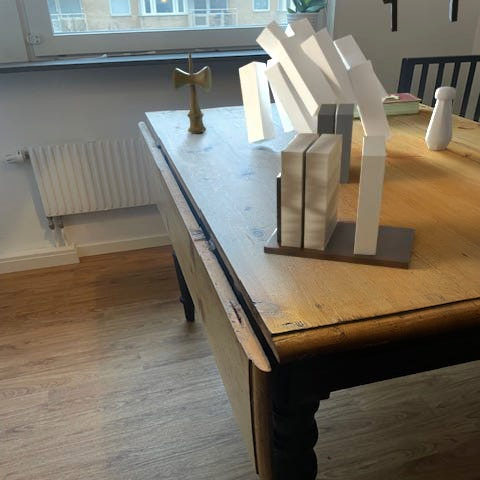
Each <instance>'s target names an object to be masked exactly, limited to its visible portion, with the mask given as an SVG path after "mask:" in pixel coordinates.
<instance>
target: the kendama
mask: <svg viewBox="0 0 480 480" xmlns="http://www.w3.org/2000/svg"><path fill="white" fill-rule="evenodd" d="M188 69H189V73H187V72H185V71H183V70H181V69H180V68H176V67H175V68H174V69H173V73H172V82H173V88H174V89H175V91H176V92H180V91H182V90H183V89H184V88H186V87H188V86H190V87H189V88H190V101H189V102H190V104H189V112H188V113H187V115H186V116H187V117H188V119H189V127H188V129H187V132H188V133H190V132H191V133H190V134H201V133H200V132H202V133H204V132H206V131H207V127H206V126H205V124H204V121H203V117H204V115H205V113H204V112H203V111H202V109H201V107H200V102H199V98H198V93H197V87H196V86H198V87H200V88H202V89H203V90H204V91H206V92H210V91H211V89H212V73H211V72H212V71H211V69H210V67H209V66H205V67H203V68H202V69H201V70H200V71H198V72H196V73H194V65H193V58H192V53H191V52H189V53H188Z"/></svg>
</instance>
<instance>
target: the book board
mask: <svg viewBox="0 0 480 480" xmlns="http://www.w3.org/2000/svg"><path fill="white" fill-rule="evenodd" d="M342 136H343V135H342V134H336V133H335V134H322V135H321V136H320V137H319V134H317V133H314V132H313V133H299V134H298V135H297V134H296V135H295V137H293V139H292V140H291V141H290V142H289V143H288V144H287V145H286V146H285V147H284V148H283V149H282V150H281V151H280V173H279V174H278V175H277V176H276V179H275V180H276V182H275V183H276V184H275V185H276V189H275V190H276V228H275V230H274V232H273V234H272V235H271V236H270V237H269V239H268V240H267V242H266V243H265V245H264V246H263V253H264V254H271V255H280V256H289V257H298V258H305V259H306V258H307V259H314V260H315V259H316V260H323V261H324V260H325V261H332V262H333V261H334V262H343V263H349V264H351V263H352V264H359V265H368V266H376V267H377V266H378V267H385V268H386V267H387V268H394V269H403V270H409V266H410V260H411V255H412V250H413V243H414V238H415V232H416V228H414V227H413V228H412V227H402V226H393V225H391V226H389V225H381V224H379V228H378V237H377V246H376V255H362V254H354V247H355V233H356V222H347V221H338V219H339V218H338V217H339V216H338V215H339V199H340V187H341V186H340V185H341V183H340V169H341V153H342Z"/></svg>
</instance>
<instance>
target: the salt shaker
mask: <svg viewBox="0 0 480 480" xmlns="http://www.w3.org/2000/svg"><path fill="white" fill-rule="evenodd" d="M456 95H457V89H456V88H455V87H452V86H440V87H438V88H437V89H436V90H435V94H434V98H435V99H436V103H435V106H434V109H433V112H432V115H431V118H430V121H429V123H428V124H429V125H428V128H427V131H426V134H425V142H426V147H427V149H428V150H431V151H436V152H437V151H445V150H446V149H447V147H448V146H449V145H450V143H451V141H452V140H453V100H454V99H456Z"/></svg>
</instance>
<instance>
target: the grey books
mask: <svg viewBox="0 0 480 480" xmlns="http://www.w3.org/2000/svg"><path fill="white" fill-rule="evenodd" d="M336 107H337V104H322V105H321V107H320V110H319V113H318V119H317V129H316V134H319V137H320V136H321V135H322V134H342V135H343V136H342V153H341V169H340V184H345V185H346V184H349V179H350V171H351V170H350V169H351V156H352V144H353V142H352V141H353V131H354V130H353V128H354V119H353V116H354V104H339V107H338V111H337V117H336ZM335 126H336V128H335Z"/></svg>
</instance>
